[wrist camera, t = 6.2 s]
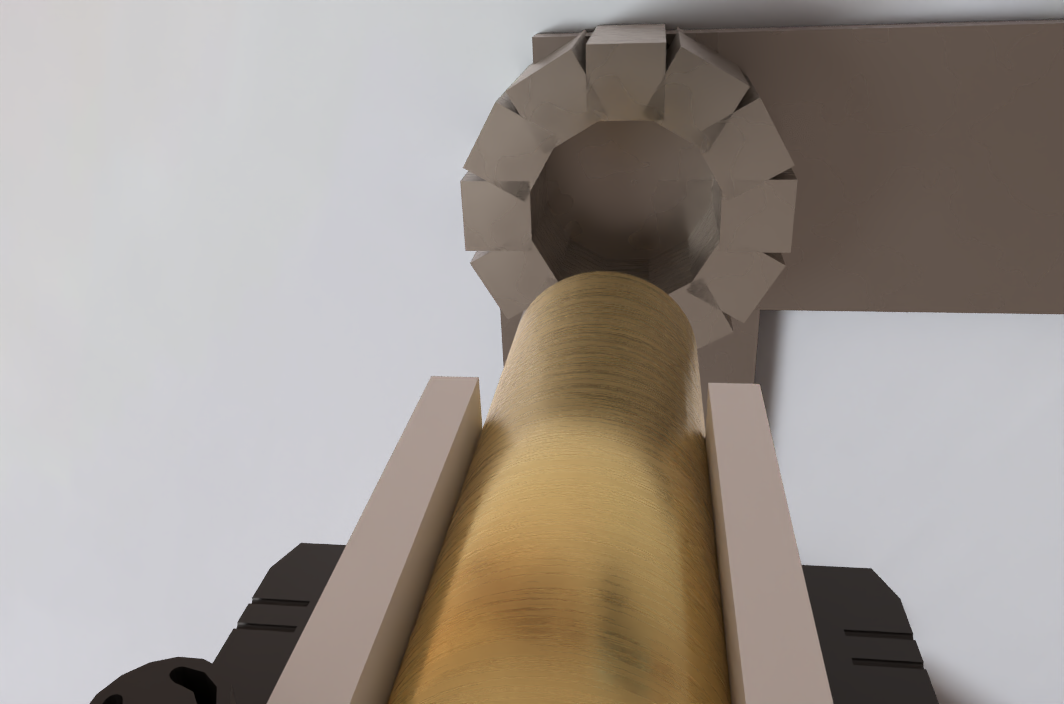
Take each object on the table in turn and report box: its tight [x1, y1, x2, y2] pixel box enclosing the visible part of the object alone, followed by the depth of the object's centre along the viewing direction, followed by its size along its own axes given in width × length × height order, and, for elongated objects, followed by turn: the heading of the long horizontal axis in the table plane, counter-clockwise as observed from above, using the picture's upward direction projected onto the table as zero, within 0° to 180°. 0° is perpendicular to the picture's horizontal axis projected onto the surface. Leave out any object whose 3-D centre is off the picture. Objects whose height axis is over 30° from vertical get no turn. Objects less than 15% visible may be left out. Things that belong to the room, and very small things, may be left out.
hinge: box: [460, 19, 1064, 433], centre depth 28 cm, size 18×21×5 cm
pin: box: [387, 271, 731, 704], centre depth 11 cm, size 4×4×14 cm
